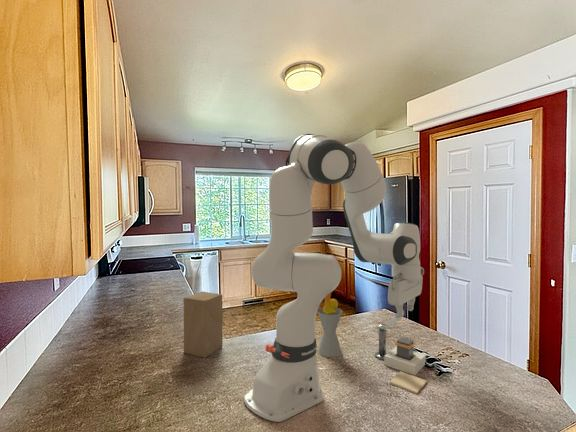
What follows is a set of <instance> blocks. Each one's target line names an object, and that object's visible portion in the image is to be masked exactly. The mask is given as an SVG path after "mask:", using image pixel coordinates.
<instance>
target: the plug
mask: <svg viewBox="0 0 576 432" xmlns="http://www.w3.org/2000/svg"><path fill="white" fill-rule="evenodd" d="M394 345H395V346H397V357H400V358H403V359H406V360H411V359H412V358H413V352H414V346H416V342H415V341H414V340H413V339H409V338H406V337H403V336H400V338H399V339H397V340H396V341H395V343H394Z"/></svg>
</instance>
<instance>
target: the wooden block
mask: <svg viewBox="0 0 576 432" xmlns="http://www.w3.org/2000/svg"><path fill="white" fill-rule="evenodd" d="M222 347H223V294H222V293H215V292H209V291H199V292H197V293H194V294H191V295H188V296H185V297H183V353H184V354H188V355H192V356H196V357H200V358H203V359H205V358H207V357H209V356H210V355H212V354H214V353H215V352H217V351H218V350H221V348H222Z"/></svg>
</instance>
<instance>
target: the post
mask: <svg viewBox="0 0 576 432" xmlns="http://www.w3.org/2000/svg"><path fill="white" fill-rule="evenodd" d="M387 353H388V352H387V329H386V330H381V329H378V351H376V352H375V353H374V358H376V359H378V360H381V361H384V356H385V355H386V354H387Z"/></svg>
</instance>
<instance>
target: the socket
mask: <svg viewBox="0 0 576 432" xmlns="http://www.w3.org/2000/svg"><path fill="white" fill-rule="evenodd" d="M386 353H387V354H386V355H385V356H384V360H383V365H384V366H386V367H389V368H393V369H394V370H395V369H396V370H398V371H399V372H400V371H401V372H404V373H406V374H409V375H412V376H416V375H417V374H418V373H419V372H420V371H421V370H422V368H424V366H425V365H426V364H425V362H427V354H423V353H421V352H418V351H414V352H413V358H412V359H411V360H406V359H403V358H400V357H397V345H395V347H394V348H392V349H391V350H390V351H389V352H386Z"/></svg>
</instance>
